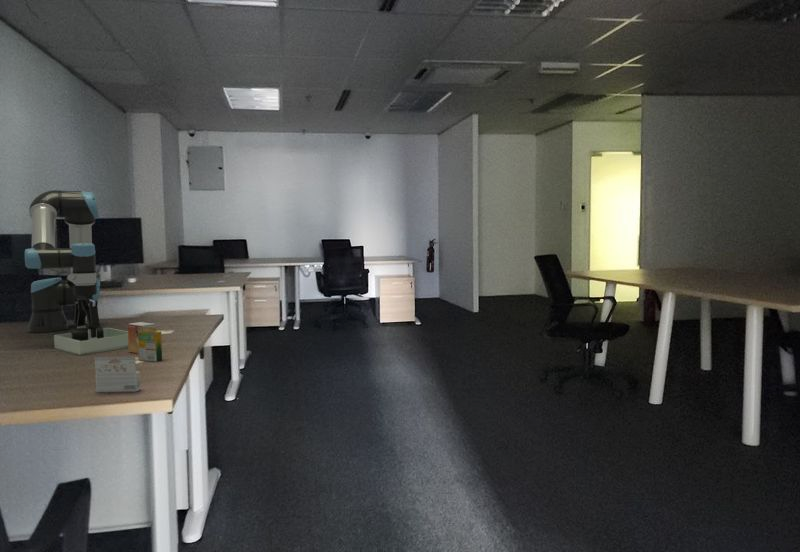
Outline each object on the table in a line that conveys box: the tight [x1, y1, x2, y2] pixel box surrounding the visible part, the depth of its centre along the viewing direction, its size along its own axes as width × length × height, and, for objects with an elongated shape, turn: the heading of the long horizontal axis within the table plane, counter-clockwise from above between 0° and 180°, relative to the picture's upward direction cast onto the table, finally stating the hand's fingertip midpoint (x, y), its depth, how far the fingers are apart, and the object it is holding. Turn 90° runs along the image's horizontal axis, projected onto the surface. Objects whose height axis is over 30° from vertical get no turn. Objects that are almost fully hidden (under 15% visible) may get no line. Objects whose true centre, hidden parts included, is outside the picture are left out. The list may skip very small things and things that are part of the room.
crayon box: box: [138, 326, 163, 362], centre depth 177 cm, size 7×3×12 cm, turn 74°
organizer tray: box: [53, 327, 129, 356], centre depth 199 cm, size 22×20×5 cm
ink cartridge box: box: [93, 355, 141, 393], centre depth 141 cm, size 2×11×10 cm, turn 92°
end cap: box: [70, 326, 104, 341], centre depth 196 cm, size 10×7×7 cm
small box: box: [127, 321, 156, 355], centre depth 190 cm, size 8×6×10 cm
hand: (87, 344), depth 196 cm, fingers closed on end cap, 8 cm apart
